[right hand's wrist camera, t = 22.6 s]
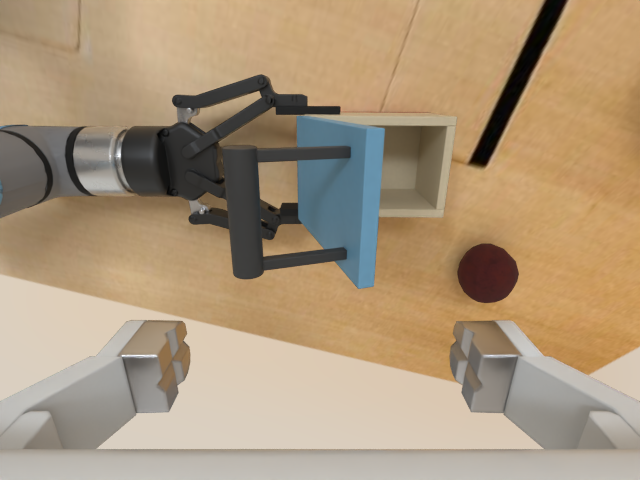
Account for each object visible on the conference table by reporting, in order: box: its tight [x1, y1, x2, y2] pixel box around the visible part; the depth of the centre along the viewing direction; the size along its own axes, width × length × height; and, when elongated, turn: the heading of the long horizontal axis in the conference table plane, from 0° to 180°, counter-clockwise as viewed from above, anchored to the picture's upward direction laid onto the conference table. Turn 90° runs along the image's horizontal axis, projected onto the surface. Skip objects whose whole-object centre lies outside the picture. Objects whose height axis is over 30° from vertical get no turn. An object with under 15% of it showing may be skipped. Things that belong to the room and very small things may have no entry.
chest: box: [303, 112, 457, 218], centre depth 40 cm, size 15×10×10 cm
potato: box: [458, 244, 519, 303], centre depth 47 cm, size 7×8×7 cm
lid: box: [222, 116, 385, 289], centre depth 27 cm, size 15×10×9 cm
